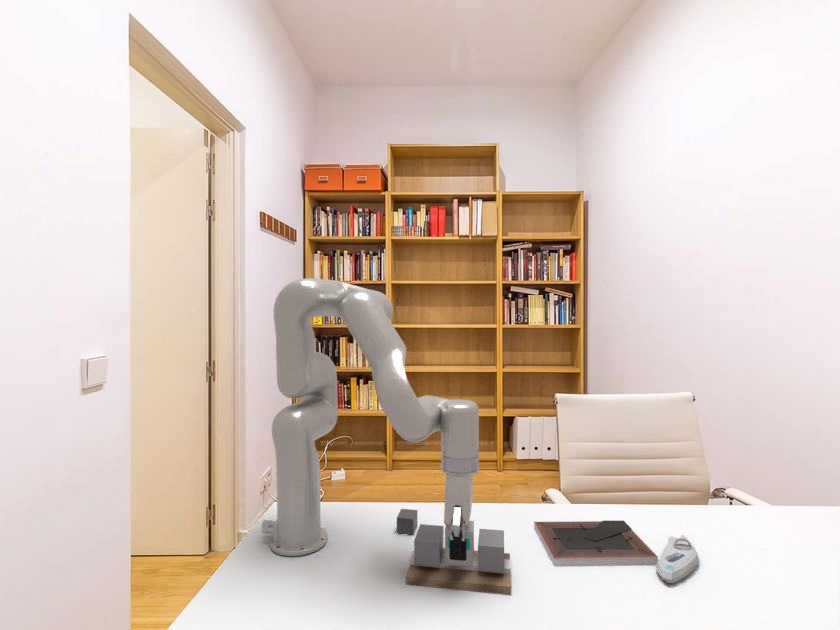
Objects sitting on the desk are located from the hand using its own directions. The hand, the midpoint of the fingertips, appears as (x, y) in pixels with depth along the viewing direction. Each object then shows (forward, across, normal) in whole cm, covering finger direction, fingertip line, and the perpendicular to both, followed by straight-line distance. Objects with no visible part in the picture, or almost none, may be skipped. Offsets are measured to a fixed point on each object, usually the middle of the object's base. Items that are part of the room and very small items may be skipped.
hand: (460, 546), depth 97 cm
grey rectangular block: (+5, -16, -14) cm, 22 cm away
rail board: (+5, 0, 0) cm, 5 cm away
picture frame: (+6, -15, +28) cm, 33 cm away
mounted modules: (+3, 0, 0) cm, 3 cm away
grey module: (+3, 0, 0) cm, 3 cm away
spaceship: (+6, -12, +44) cm, 46 cm away
